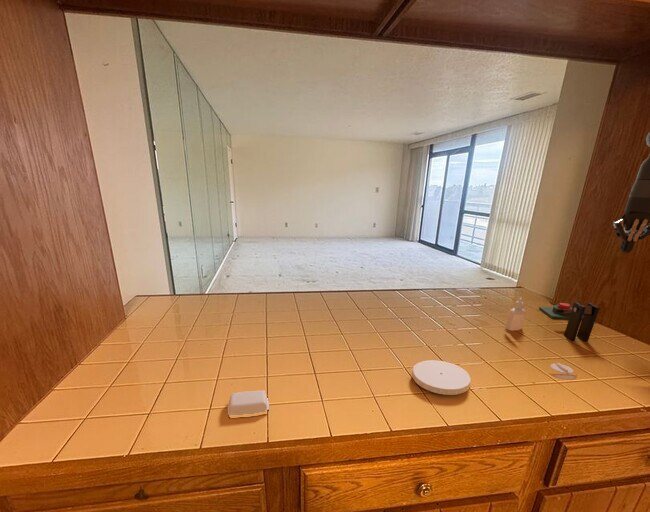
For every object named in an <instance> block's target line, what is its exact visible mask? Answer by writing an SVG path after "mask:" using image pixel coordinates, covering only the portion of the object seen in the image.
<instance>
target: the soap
mask: <svg viewBox="0 0 650 512" xmlns="http://www.w3.org/2000/svg"><path fill="white" fill-rule="evenodd" d="M266 395H267V393H266V390H264V389H260V390H248V391H246V390H245V391H239V392H232V393H231V394H230V396H229V399H230V400H229V399H228V402H229V404H228V403H227V416H228V415H243V414H254V413H259V412H265V411H267V410H268V409H269V410H270V400H269V401H268V399H269V397H268V398H267V396H268V395H267V396H266Z"/></svg>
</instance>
